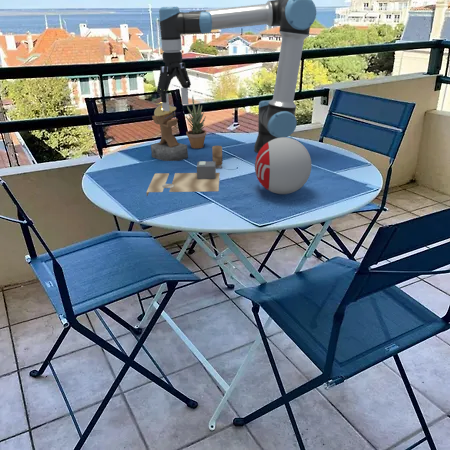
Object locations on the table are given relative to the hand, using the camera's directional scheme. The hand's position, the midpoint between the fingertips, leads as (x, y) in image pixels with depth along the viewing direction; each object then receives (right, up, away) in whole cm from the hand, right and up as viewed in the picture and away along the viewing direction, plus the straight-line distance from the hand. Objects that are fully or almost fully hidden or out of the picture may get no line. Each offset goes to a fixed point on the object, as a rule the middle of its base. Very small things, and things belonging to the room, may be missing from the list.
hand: (175, 107), depth 182 cm
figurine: (-5, -17, +22) cm, 28 cm away
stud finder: (+13, -28, -6) cm, 32 cm away
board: (+5, -33, -10) cm, 34 cm away
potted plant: (+6, -10, +36) cm, 38 cm away
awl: (+17, -25, +5) cm, 30 cm away
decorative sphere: (+41, -36, -18) cm, 57 cm away
